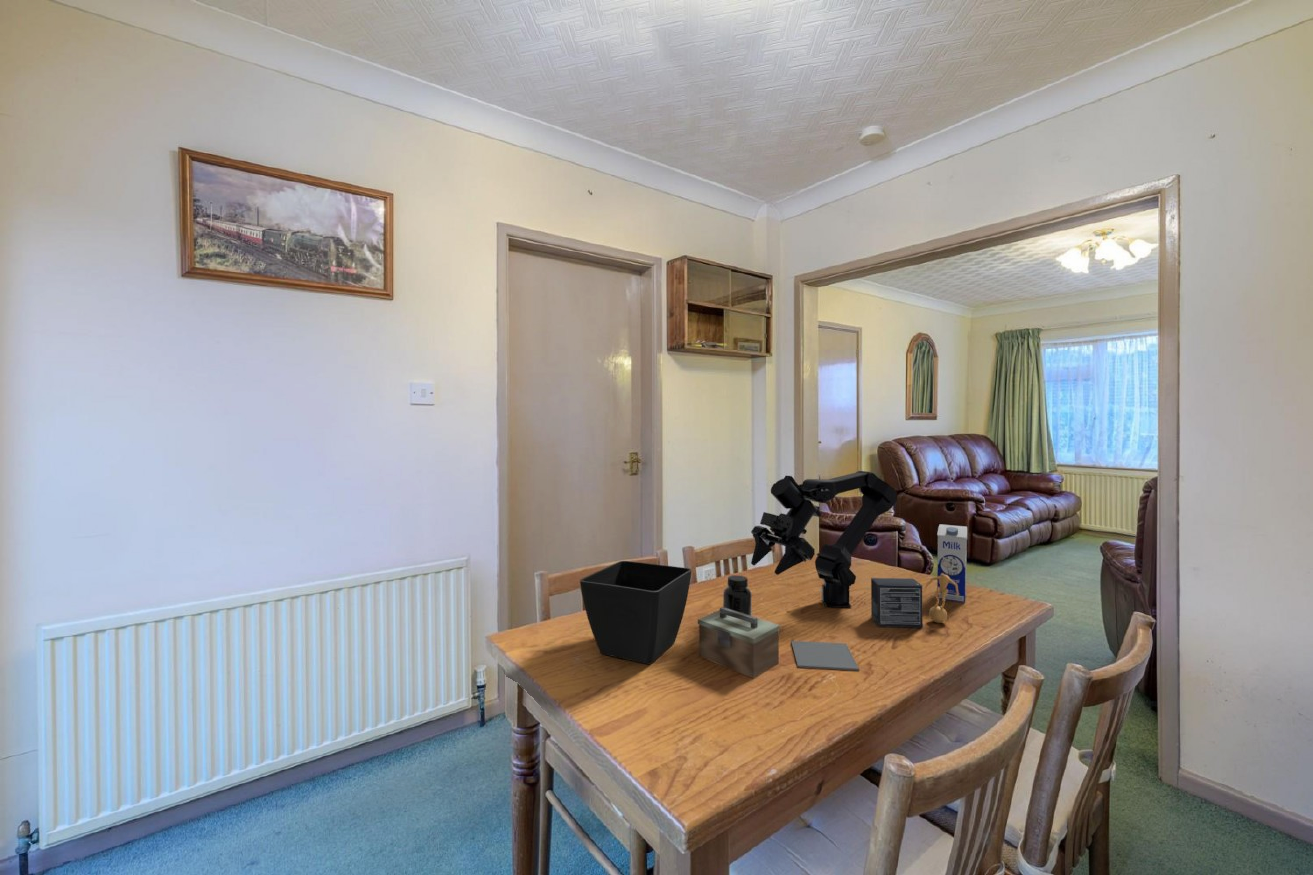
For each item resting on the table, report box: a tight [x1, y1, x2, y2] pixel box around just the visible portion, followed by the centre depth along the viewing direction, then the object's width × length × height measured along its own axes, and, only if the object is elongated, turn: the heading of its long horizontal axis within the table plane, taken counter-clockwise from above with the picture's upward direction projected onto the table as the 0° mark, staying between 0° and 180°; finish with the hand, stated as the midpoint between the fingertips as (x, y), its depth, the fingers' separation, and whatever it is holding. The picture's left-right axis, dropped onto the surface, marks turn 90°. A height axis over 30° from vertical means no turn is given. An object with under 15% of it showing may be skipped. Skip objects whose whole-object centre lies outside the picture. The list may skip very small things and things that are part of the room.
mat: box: [790, 640, 860, 671], centre depth 113 cm, size 12×12×1 cm
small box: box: [870, 577, 924, 629], centre depth 131 cm, size 11×6×10 cm, turn 84°
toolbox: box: [697, 606, 781, 679], centre depth 111 cm, size 14×10×10 cm
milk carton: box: [936, 524, 968, 604], centre depth 148 cm, size 7×7×20 cm
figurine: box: [924, 573, 959, 624], centre depth 131 cm, size 8×6×12 cm
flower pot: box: [579, 560, 692, 665], centre depth 117 cm, size 19×19×17 cm
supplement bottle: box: [722, 574, 753, 616], centre depth 129 cm, size 7×7×12 cm
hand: (763, 568), depth 133 cm, fingers open, 9 cm apart
